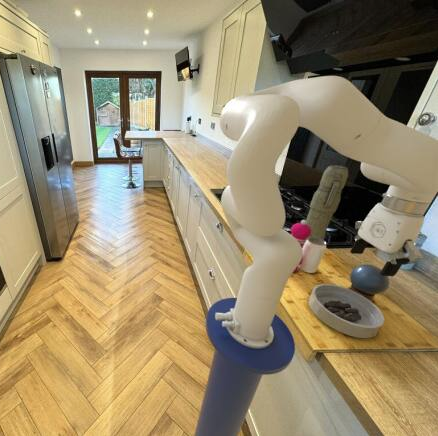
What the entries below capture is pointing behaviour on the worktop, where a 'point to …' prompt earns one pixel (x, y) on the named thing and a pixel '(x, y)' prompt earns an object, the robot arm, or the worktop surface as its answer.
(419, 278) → the worktop surface
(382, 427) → the worktop surface
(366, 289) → the ball stand
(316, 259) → the can
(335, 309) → the chocolate capsule cluster
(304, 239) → the pepper mill
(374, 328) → the bowl
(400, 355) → the worktop surface
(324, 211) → the moai statue figurine
